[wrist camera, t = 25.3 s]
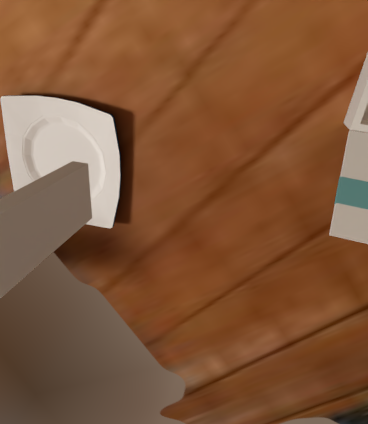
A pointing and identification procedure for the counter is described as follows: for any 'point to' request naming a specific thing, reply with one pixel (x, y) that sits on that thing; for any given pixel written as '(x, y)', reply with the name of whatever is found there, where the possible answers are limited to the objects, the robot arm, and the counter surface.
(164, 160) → the counter surface
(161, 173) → the counter surface
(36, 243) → the robot arm
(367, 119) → the base
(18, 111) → the plate
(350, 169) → the mailer lid
